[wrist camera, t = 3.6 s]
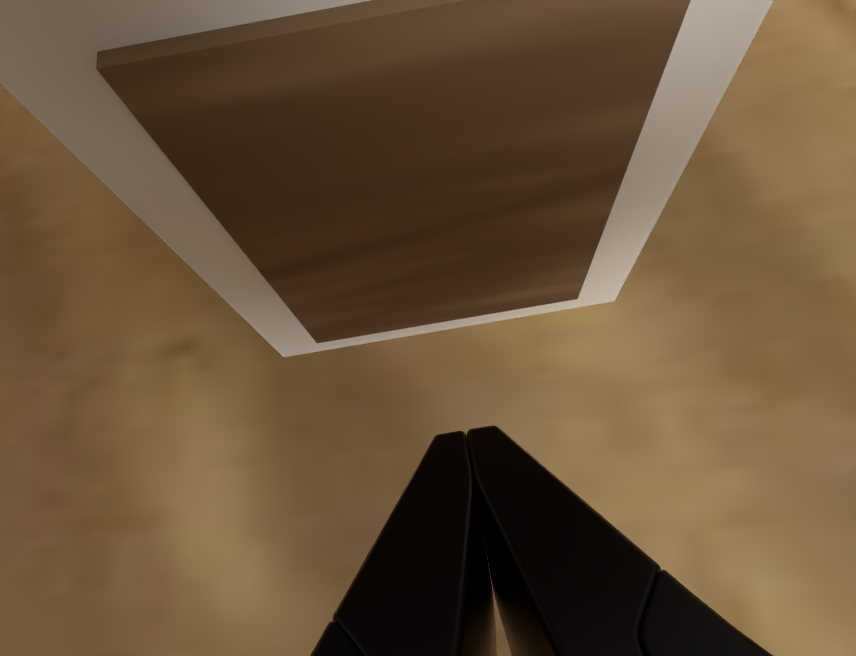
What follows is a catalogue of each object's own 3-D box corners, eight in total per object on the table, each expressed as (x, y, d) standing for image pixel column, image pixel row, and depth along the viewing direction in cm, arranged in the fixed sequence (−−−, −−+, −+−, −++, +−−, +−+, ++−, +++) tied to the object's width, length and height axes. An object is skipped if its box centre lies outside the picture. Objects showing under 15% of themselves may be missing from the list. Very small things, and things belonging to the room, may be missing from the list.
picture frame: (616, 309, 19) (905, -210, 6) (284, 365, 19) (-126, -13, 6) (577, 174, 21) (733, -444, 8) (275, 227, 21) (-52, -282, 8)
